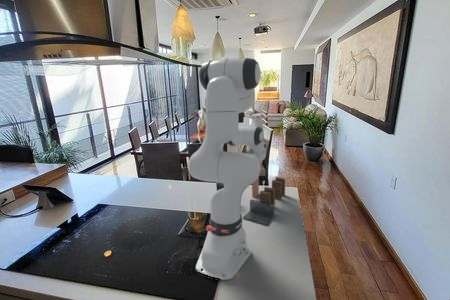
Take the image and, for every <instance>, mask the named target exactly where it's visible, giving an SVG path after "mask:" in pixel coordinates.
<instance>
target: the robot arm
mask: <svg viewBox="0 0 450 300" xmlns="http://www.w3.org/2000/svg"><path fill="white" fill-rule="evenodd" d="M198 72H199V73H198V77H199V82H200V84H201V86H202V87H203V89H204V90H205V91H206V93H205V101H204V102H205V104H204V105H205V130H204V131H205V133H204V138H203V140H202V144H201V145H200V147H198V149H197V150H196V151H195V152H194V153H192V155H191V156H190V158H189V160H188V171H189V175H191V177H192V178H194V179H197V180H200V181H202V182H209V183H210V182H211V183H217V182H219V183H223V184H224V188H222V189H220V190H218V191H217V190H216V191H215V192H213V193H212V194H211V197H210V198H209V206H210V208H209V209H210V216H209V221H208V223H209V224H208V225H207V226H206V229H205V230H206V231H207V234H206V237H205V240H204V243H203V247H202V249H201V252H200V255H199V257H198V260H197V262H196V264H195V271H196V272H198V273H199V272H200V273H202V274H205V275H208V276H211V277H215V278H219V279H221V281H222V280H223V281H228V280H232V279H233V278H234V277H235V276H236V275H237V273H238V272H239V271H240V270H241V268H242V267H243V265H244V264H245V263H246V261H247V260H248V259H249V258H250V256H251V254H252V250H251V248H250V247H248V239H247V232H246V230H245V229H244V227H243V215H242V211H241V210H242V209H241V203H242V202H241V201H242V196H243V194H244V192H245V190H246V189H247V188H249V187H250V185H251V186H252V183H254V182H255V181H256V180H257V178H259V176H260V175H261V174H260V173H261V169H262V163H263V161H264V160H265V159H266V158H267V157H266V156H267V147H268V145H267V142H264V137H265V136H264V135H265V133H264V124H263V119H262V117H258V116H250V117H247V118H246V125H239V114H241V113H244V112H247V111H248V110H249V109H251V107H252V106H253V105H254V103H255V100H256V91H255V88H257V86H259V84H260V80H261V75H262V74H261V73H262V71H261V68H260V64H259V62H258V61H257V60H256V59H254V58H249V57H246V58H221V59H217V60H208V61H205V62H203V63H202V65H201V66H200V68H199V71H198ZM226 143H227V145H229V146H231V147H233V146H235V147H236V146H243V147H244V146H245V147H246V152H241V151H239V152H238V151H225V150H224V145H225V144H226ZM201 269H203V270H202V271H201ZM200 273H199V274H200ZM202 274H201V275H202Z"/></svg>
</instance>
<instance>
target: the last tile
mask: <svg viewBox="0 0 450 300" xmlns="http://www.w3.org/2000/svg"><path fill="white" fill-rule="evenodd" d="M259 201H261V202H265V203H269V204H271V193H270V192H266V191H264V190H259Z"/></svg>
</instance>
